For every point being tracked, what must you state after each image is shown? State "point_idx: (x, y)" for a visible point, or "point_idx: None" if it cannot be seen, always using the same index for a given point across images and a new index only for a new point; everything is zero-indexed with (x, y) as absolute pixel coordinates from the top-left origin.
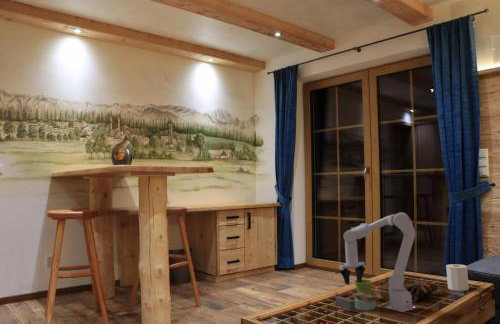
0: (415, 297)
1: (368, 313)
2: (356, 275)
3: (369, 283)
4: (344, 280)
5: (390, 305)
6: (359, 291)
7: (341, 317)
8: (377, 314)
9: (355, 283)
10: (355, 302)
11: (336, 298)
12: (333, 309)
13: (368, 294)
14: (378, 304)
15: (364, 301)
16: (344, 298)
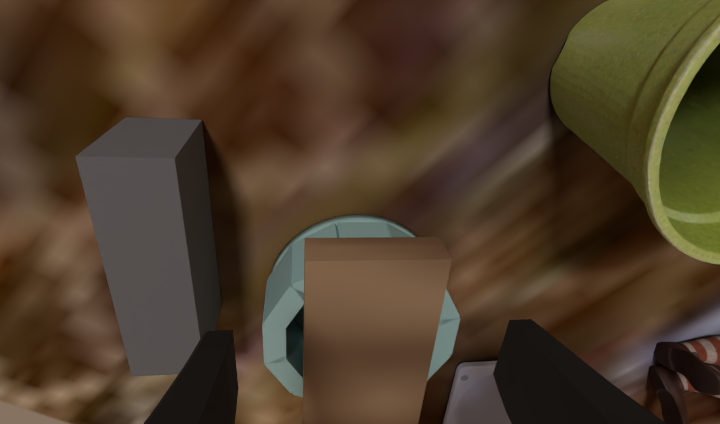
0: (716, 396)
1: (259, 386)
2: (590, 403)
3: (717, 261)
4: (173, 385)
5: (471, 401)
6: (592, 100)
7: (2, 364)
8: (293, 420)
9: (684, 58)
10: (273, 290)
11: (85, 168)
12: (47, 166)
13: (428, 363)
14: (501, 282)
15: (294, 390)
16: (160, 260)
